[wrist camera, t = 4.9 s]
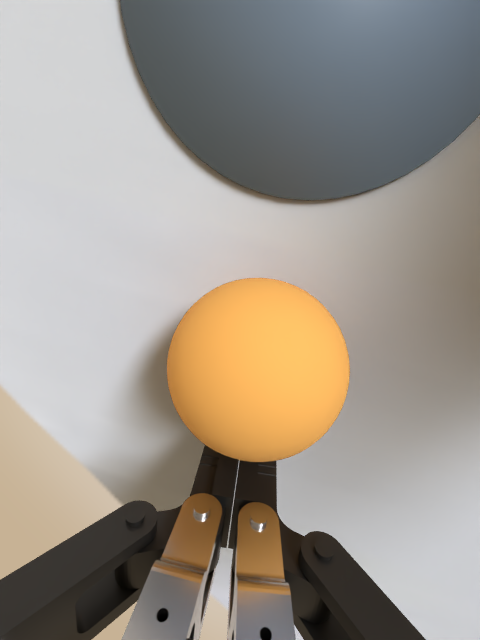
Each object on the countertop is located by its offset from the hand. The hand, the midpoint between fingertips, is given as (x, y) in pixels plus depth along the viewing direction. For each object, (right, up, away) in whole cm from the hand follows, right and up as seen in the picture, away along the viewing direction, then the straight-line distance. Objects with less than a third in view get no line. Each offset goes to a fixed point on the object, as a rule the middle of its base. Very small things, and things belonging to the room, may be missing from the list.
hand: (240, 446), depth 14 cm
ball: (+1, +4, -3) cm, 5 cm away
